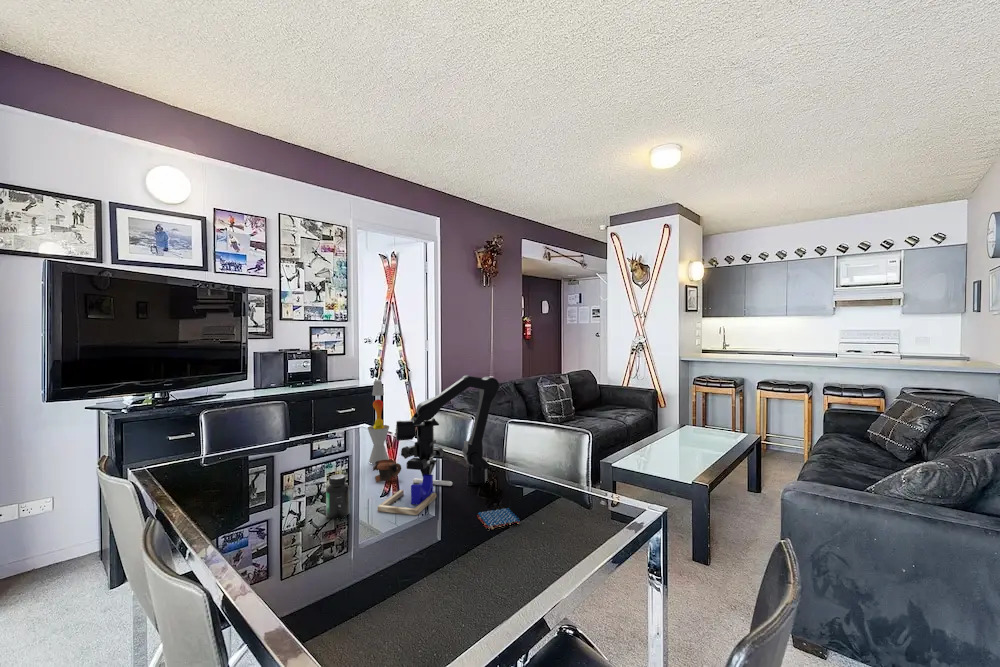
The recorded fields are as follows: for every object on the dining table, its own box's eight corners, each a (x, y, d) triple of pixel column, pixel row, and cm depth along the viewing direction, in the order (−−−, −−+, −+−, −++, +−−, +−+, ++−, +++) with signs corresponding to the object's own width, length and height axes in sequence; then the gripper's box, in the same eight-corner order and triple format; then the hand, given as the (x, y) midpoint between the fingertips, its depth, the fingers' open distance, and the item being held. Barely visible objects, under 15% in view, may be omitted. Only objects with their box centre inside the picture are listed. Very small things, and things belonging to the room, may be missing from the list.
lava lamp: (366, 460, 203) (365, 380, 203) (387, 457, 207) (386, 378, 206) (370, 466, 195) (368, 382, 194) (391, 463, 199) (390, 380, 198)
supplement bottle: (325, 520, 140) (324, 481, 140) (327, 512, 147) (326, 474, 147) (349, 518, 142) (348, 478, 142) (350, 509, 149) (349, 472, 148)
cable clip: (420, 490, 165) (420, 474, 165) (432, 491, 164) (432, 474, 164) (406, 503, 153) (406, 485, 153) (419, 504, 152) (419, 486, 152)
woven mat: (475, 518, 142) (475, 511, 142) (508, 513, 146) (508, 506, 146) (486, 532, 132) (486, 525, 132) (521, 526, 136) (521, 519, 136)
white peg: (453, 485, 170) (453, 480, 170) (451, 486, 169) (451, 482, 169) (413, 481, 175) (413, 477, 174) (412, 483, 173) (411, 478, 173)
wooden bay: (436, 497, 158) (436, 493, 158) (416, 515, 144) (416, 510, 144) (400, 494, 162) (400, 489, 162) (377, 511, 147) (377, 506, 147)
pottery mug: (367, 483, 175) (367, 461, 179) (381, 487, 183) (381, 466, 187) (396, 477, 172) (395, 455, 176) (408, 481, 180) (408, 460, 184)
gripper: (416, 431, 177) (417, 472, 178) (392, 443, 159) (392, 489, 160) (443, 432, 174) (444, 474, 175) (422, 445, 156) (422, 491, 157)
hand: (426, 482), depth 167 cm, fingers closed
